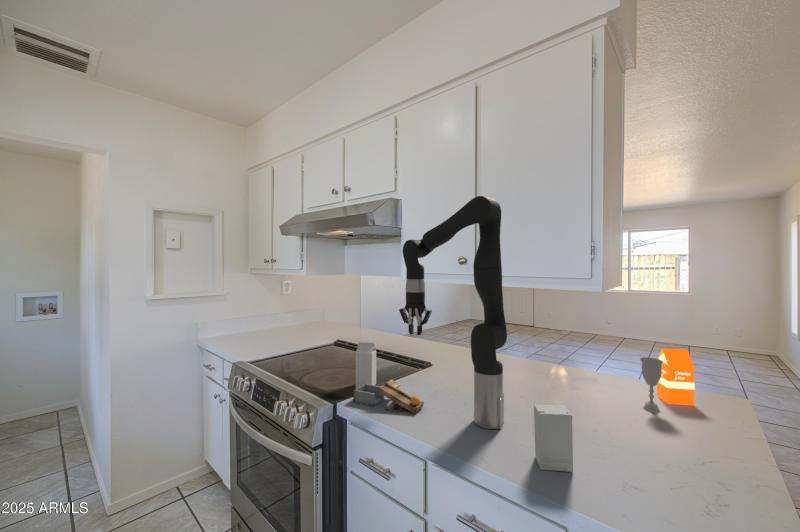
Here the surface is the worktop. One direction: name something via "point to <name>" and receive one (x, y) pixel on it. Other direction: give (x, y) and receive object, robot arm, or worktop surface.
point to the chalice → (651, 379)
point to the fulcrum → (394, 407)
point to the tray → (367, 394)
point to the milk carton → (365, 364)
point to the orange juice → (676, 377)
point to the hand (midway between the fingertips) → (415, 334)
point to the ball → (415, 400)
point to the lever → (398, 396)
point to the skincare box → (553, 437)
